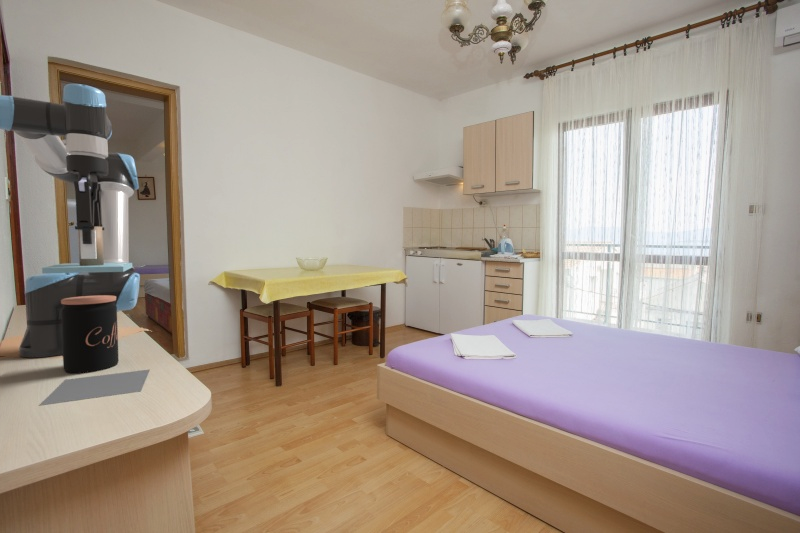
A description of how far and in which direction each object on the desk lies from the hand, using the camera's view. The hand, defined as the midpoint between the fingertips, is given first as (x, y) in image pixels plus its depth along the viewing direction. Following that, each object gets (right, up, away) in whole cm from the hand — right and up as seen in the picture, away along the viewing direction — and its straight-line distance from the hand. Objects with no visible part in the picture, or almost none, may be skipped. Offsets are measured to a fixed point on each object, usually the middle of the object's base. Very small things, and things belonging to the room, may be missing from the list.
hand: (91, 257), depth 90 cm
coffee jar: (-4, -28, +5) cm, 29 cm away
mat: (+8, -28, -7) cm, 30 cm away
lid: (0, -3, 0) cm, 3 cm away
